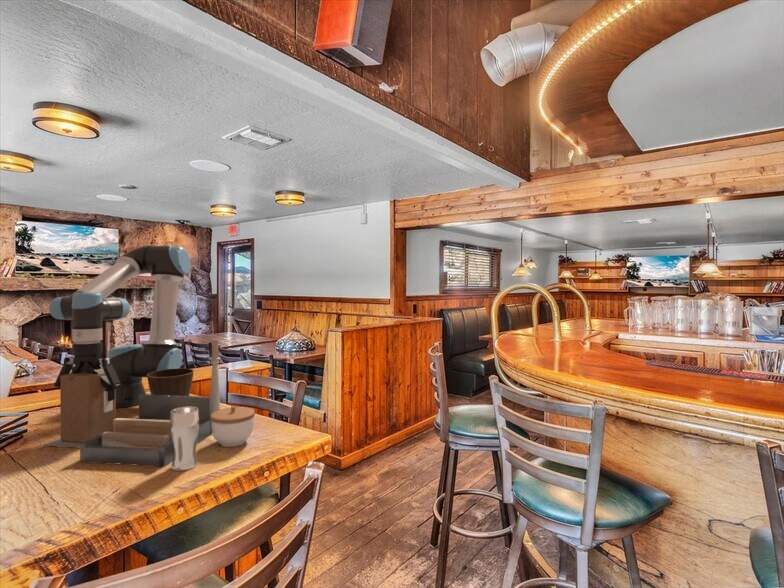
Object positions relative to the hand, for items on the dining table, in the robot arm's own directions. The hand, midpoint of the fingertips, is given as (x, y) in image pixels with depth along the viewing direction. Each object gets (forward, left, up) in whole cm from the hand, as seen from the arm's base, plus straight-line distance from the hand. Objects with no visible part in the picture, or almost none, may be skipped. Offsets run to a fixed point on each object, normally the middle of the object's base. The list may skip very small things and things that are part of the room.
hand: (87, 410), depth 126 cm
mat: (0, 0, -9) cm, 9 cm away
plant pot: (-23, +12, -9) cm, 27 cm away
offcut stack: (+10, +24, -9) cm, 27 cm away
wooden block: (0, 0, -8) cm, 8 cm away
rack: (+4, +24, -9) cm, 26 cm away
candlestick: (-17, +32, -9) cm, 37 cm away
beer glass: (+15, +41, -9) cm, 45 cm away
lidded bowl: (-2, +46, -9) cm, 47 cm away
